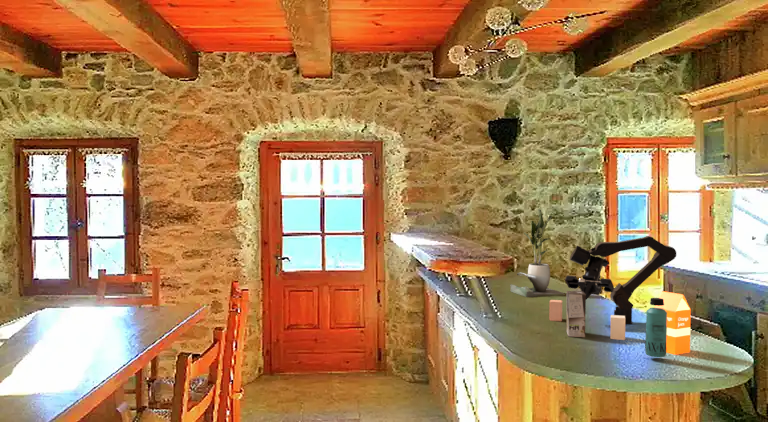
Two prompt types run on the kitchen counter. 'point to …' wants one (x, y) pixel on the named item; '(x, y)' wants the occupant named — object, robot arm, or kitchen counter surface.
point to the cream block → (617, 327)
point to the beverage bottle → (656, 329)
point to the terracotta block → (555, 310)
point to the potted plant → (537, 266)
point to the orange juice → (676, 322)
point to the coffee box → (576, 313)
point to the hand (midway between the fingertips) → (583, 300)
